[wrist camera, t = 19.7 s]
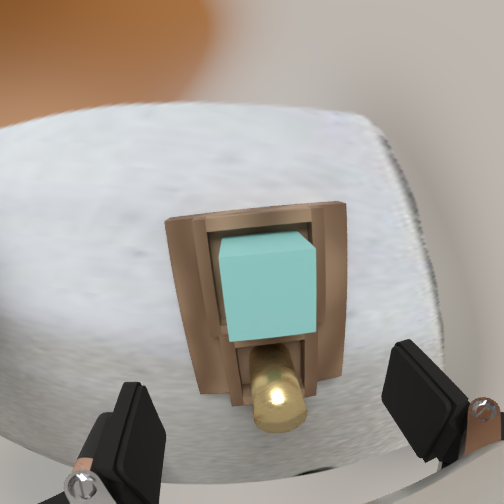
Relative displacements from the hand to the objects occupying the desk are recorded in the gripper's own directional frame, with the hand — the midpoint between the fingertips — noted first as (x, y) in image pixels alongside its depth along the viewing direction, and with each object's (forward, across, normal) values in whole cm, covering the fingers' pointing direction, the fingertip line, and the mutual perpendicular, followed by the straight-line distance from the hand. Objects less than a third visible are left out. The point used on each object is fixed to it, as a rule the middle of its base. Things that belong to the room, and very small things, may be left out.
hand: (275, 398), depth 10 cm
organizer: (+17, -2, +5) cm, 18 cm away
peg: (+15, -2, +10) cm, 18 cm away
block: (+15, -2, 0) cm, 15 cm away
